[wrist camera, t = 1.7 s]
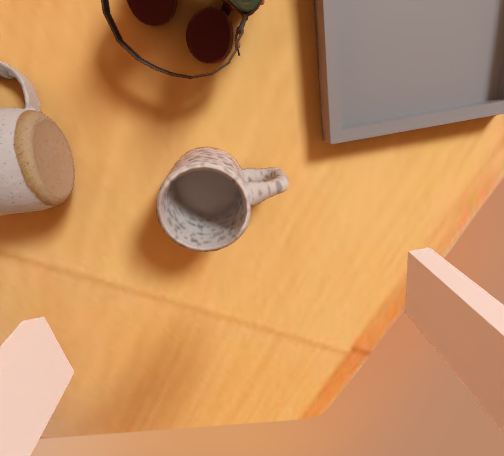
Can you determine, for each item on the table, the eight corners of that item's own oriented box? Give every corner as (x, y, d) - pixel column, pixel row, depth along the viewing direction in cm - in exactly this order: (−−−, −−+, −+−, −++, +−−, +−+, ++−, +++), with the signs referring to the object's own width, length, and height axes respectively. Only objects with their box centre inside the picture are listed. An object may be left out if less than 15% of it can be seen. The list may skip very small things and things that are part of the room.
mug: (183, 225, 30) (173, 260, 24) (159, 156, 27) (142, 176, 21) (286, 201, 30) (302, 230, 24) (273, 129, 27) (288, 141, 21)
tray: (322, 140, 28) (330, 144, 26) (307, -103, 21) (316, -122, 19) (500, 108, 28) (522, 110, 26) (540, -141, 21) (573, -165, 19)
